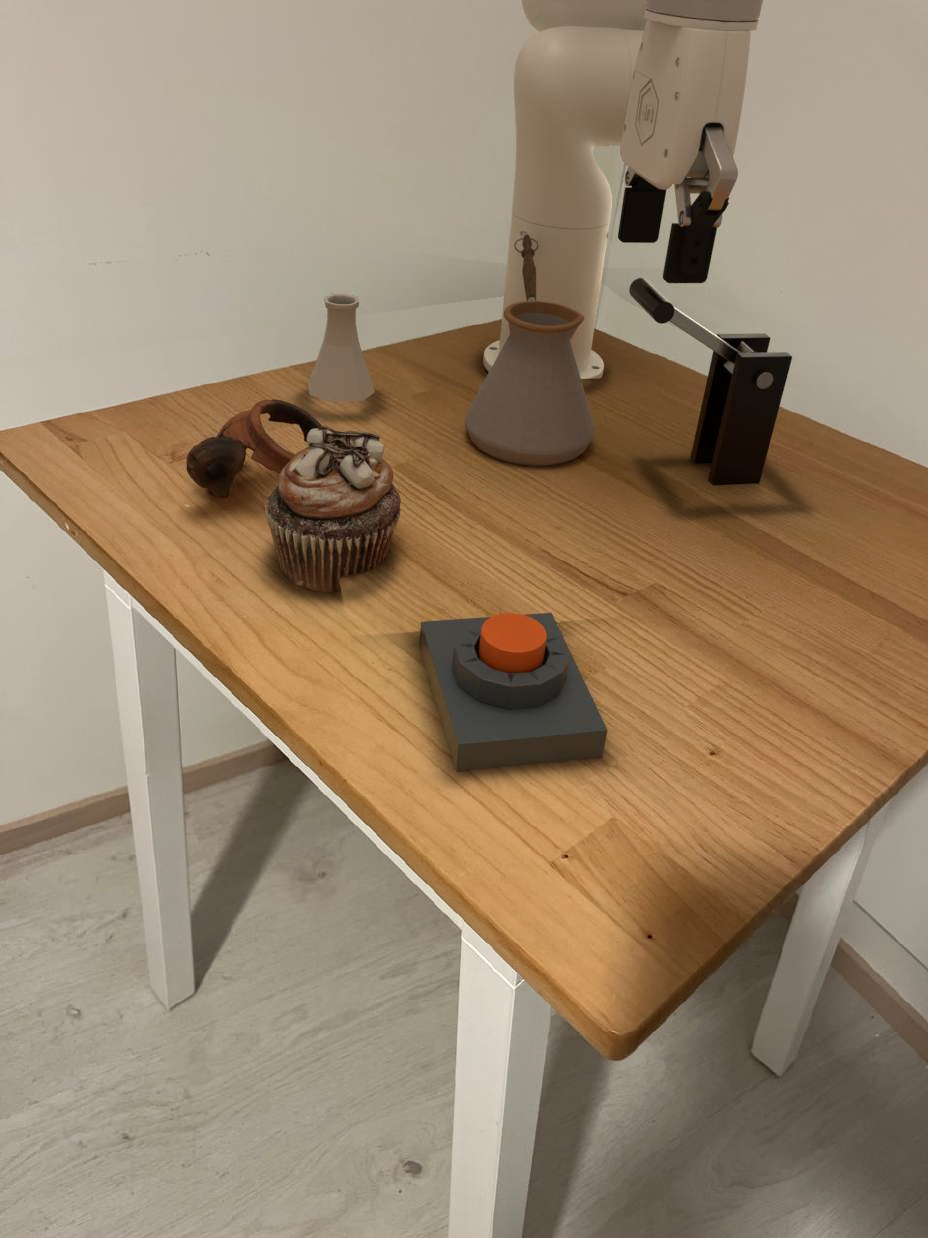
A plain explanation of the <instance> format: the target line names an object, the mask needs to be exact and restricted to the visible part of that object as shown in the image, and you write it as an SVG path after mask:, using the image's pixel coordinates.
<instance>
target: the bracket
mask: <svg viewBox="0 0 928 1238" xmlns="http://www.w3.org/2000/svg"><path fill="white" fill-rule="evenodd" d="M716 336H718V337H719V338H721V339H722V340H724V341H725V342H727V343H728V344H730V345H731V346H733V347H734V348H737V346H738V345H739V344H740V343H741V341H742V342H744V343H746V344H747V345H748V346H750V347H751V348H753V349H754V350H756V351H757V352H759V353H737V356H736V360H735V364H734V369H733V373H732V374H731V373H730V372H729V371H728V370H727V369H726V368H725V367H724V366H723V364H724V363H725V362H726V361H727V359H725V358H724V357H722V356H721V355H719V354H718V353H716V352H715V351H713V350H712V355H711V359H710V365H709V369H708V373H707V379H706V383H705V387H704V392H703V397H702V401H701V406H700V410H699V415H698V421H697V425H696V430H695V434H694V439H693V443H692V448H691V453H690V460H691V461H692V463H693V464H711V466H710V469H709V474H708V478H707V481H708V482H709V484H710V485H711V486H732V485H756V484H760V483H761V479H762V475H763V472H764V467H765V464H766V460H767V457H768V452H769V448H770V444H771V441H772V437H773V433H774V429H775V425H776V422H777V418H778V414H779V410H780V406H781V402H782V398H783V395H784V391H785V387H786V383H787V379H788V375H789V371H790V367H791V364H792V361H793V355H791V354H790V353H789V352H787V351H785V352H784V351H776V352H774V351H773V352H768V351H769V345H770V342H771V337H770V336H769V335H768V334H767V333H765V332H763V333H762V332H761V333H760V332H759V333H716Z"/></svg>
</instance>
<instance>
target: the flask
mask: <svg viewBox="0 0 928 1238" xmlns="http://www.w3.org/2000/svg"><path fill="white" fill-rule="evenodd" d="M323 301H324V306H325V308H326V309H327V315H326V317H327V318H326V319H327V321H326V325H325V330H324V336H323V340H322V343H321V346H320V349H319V351H318V355H317V357H316V360H315V364H314V366H313V369H312V372H311V374H310V377H309V380H308V383H307V389H308V394H309V396H311V397H314V398H317V399H321V400H325V401H329V402H331V403H360V402H363V401H365V400H366V399H367V398H369V397H370V396H372V395H373V394H375V393H376V391H375V388H374V385H373V380H372V378H371V376H370V372H369V369H368V367H367V364H366V361H365V357H364V354H363V351H362V348H361V345H360V341H359V334H358V328H357V309H359V306H360V300H359V296H358V295H353V294H350V293H349V294H348V293H330V294H328V295H326V296H324V297H323Z"/></svg>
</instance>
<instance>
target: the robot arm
mask: <svg viewBox="0 0 928 1238" xmlns="http://www.w3.org/2000/svg"><path fill="white" fill-rule="evenodd" d="M520 1H521V5H522V9H523V13H524V16H525V18H526V19H527V21H528V23H529V24H530V25H531V26H532V27H533V28H534V29H535V30H536V31H538V32H536V33H534V34H533V35H531V36H530V37H529V38H528V39H527V40H525V42H524V44H523V45H522V46H521V48H520V50H519V52H518V54H517V57H516V61H515V63H514V73H513V98H514V100H513V101H514V120H515V166H514V168H515V170H514V182H513V194H512V203H511V204H512V205H511V206H512V207H511V216H510V217H511V218H510V230H509V237H508V238H509V239H508V249H507V250H508V251H507V259H506V272H505V281H504V283H505V284H504V293H503V305H502V313H501V314H502V315H501V325H500V335H499V340H496V341H494V342H492V343H490V344H489V345H488V346H486V348H485V349H484V350H483V359H482V362H483V366H484V368H485V370H486V371H487V372H488V373H489V371H490V369H491V368H492V366H493V364H494V362H495V360H496V359H497V357H498V355H499V353H500V351H501V349H502V348H503V346H504V344H505V342H506V340H507V339H508V337H509V335H510V331H509V323H508V321H507V320H506V319H505V317H504V310H505V308H506V307H507V306H509V305H511V304H513V303H517V302H524V301H527V300H526V293H525V286H524V280H523V273H522V269H523V262H524V258H523V257H522V256H521V253H519V252H518V251H516V250H515V247H514V244H515V242H516V240H518V239H520V238H524V236H525V235H529V236H530V238H533V239H535V240H536V241H537V242H538V248H537V250H536V251H535V252H534V253H535V254H534V257H533V261H534V264H535V267H536V301H543V302H551V303H556V304H560V305H563V306H567V307H569V308H571V309H573V310H575V311H577V312H579V313H580V314H581V315H583V316H584V320H583V322H582V323H581V324H580V325H579V326H578V328H577V330H576V331H575V333H574V334H573V336H572V338H571V339H570V343H571V346H572V350H573V353H574V357H575V360H576V364H577V367H578V371H579V374H580V378H581V380H590V379H591V380H593V379H602V377H603V375H604V369H605V363H604V360H603V358H602V357H601V356H600V355H599V354H598V353H597V352H596V351H594V350H593V349H592V347H593V340H594V335H595V334H594V333H595V327H596V322H597V321H596V320H597V313H598V307H599V299H600V292H601V286H602V278H603V272H604V266H605V258H606V252H607V245H608V239H609V231H610V223H611V217H612V209H613V193H612V189H611V186H610V183H609V181H608V179H607V176H606V175H605V173H604V172H603V170H602V168H601V167H600V165H599V164H598V163H597V160H596V159H595V156H594V149H595V148H598V147H609V146H613V147H614V146H615V147H617V146H619V156H620V158H621V161H622V162H623V163H624V165H625V166H626V167H627V169H626V170H625V173H624V185H625V186H626V187H625V186H624V191H623V192H624V193H623V197H622V205H621V212H620V217H619V218H620V219H619V226H618V232H617V239H618V240H619V241H620V242H621V243H625V244H626V243H627V244H630V243H631V244H653V243H656V242H657V241H658V240H659V236H660V232H661V231H660V230H661V225H662V219H663V213H664V207H665V202H666V200H665V199H666V195H667V190H669V189H670V188H671V187H672V185H674V195H675V204H676V205H675V207H676V213H677V216H676V217H677V222H671V225H670V226H671V227H670V231H669V238H668V244H667V248H666V255H665V261H664V266H663V272H662V279H663V281H664V282H666V284H704V283H705V282H706V281H707V279H708V276H709V272H710V266H711V261H712V256H713V251H714V246H715V240H716V236H717V230H718V228H720V227H721V225H722V221H723V214H724V213H725V211H726V210H727V207H729V204H730V202H729V200H730V195H731V193H732V190H733V189H734V186H735V184H736V182H737V180H738V176H739V171H738V167H737V164H736V161H735V159H734V156H735V152H736V151H735V150H736V146H737V141H738V136H739V130H740V124H741V117H742V112H743V105H744V99H745V98H744V97H745V92H746V91H745V90H746V84H747V75H748V66H749V56H750V44H751V34H752V31H756V30H758V28H759V21H760V18H761V12H762V8H763V4H764V3H763V2H764V0H520ZM691 194H695V195H697V197H696V198H695V199H694V201H693V202H692V200H691ZM531 242H532V246H531V248H532V249H533V250H535V249H536V247H537V243H536V242H535V241H533V240H531ZM522 243H523V240H520V241H518V242H517V243H516V245H515V246H516V248H517V249H518V250H519V251H522V250H523V249H524V247H523V245H522Z"/></svg>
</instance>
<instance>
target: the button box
mask: <svg viewBox="0 0 928 1238" xmlns="http://www.w3.org/2000/svg"><path fill="white" fill-rule="evenodd" d="M524 615H525V616H528V617H531V618H533V619H535V620H536V621H538V622H539V623H540V624H541V625H542V626H543V627H544V628H545V630H546V633H547V639H546V646H545V653H544V659H543V662H542V664H541V665H540V666H539V667H538V668H537V669H536V670H534V671H532V672H526V673H514V674H510V673H506V672H502V671H498V670H494V669H492V668H490V667H489V666H487V665H486V664H485V663H483V661H482V660H481V658H480V655H479V645H480V635H481V627H482V625H483V624H484V622H485V621H486V620H487V619H489V618H491V617H492V616H484V617H483V616H482V617H470V618H469V617H468V618H456V619H454V618H453V619H440V620H428V621H427V620H425V621H421V622H420V627H419V628H420V631H419V647H418V648H419V651H420V655H421V659H422V662H423V665H424V669H425V672H426V676H427V678H428V682H429V686H430V690H431V693H432V695H433V699H434V703H435V706H436V709H437V712H438V716H439V719H440V723H441V725H442V726H441V727H442V729H443V732H444V736H445V739H446V743H447V746H448V750H449V753H450V756H451V760H452V763H453V766H454V767H453V768H454V770H455V772H466V771H476V770H486V769H496V768H497V769H498V768H506V767H507V768H508V767H516V766H528V765H535V764H536V765H537V764H546V763H547V764H548V763H556V762H557V763H559V762H567V761H577V760H586V759H595V758H596V759H597V758H603V756H604V750H605V746H606V740H607V736H608V728H607V725H606V724H605V722H604V720H603V718H602V715H601V713H600V711H599V709H598V707H597V705H596V703H595V701H594V698H593V696H592V694H591V692H590V690H589V688H588V686H587V684H586V682H585V680H584V677H583V675H582V673H581V671H580V669H579V667H578V666H577V663H576V660H575V658H574V657H573V654H572V652H571V651H570V648H569V646H568V644H567V642H566V640H565V638H564V636H563V634H562V632H561V628H560V627H559V625H558V623H557V621H556V619H555V616H554V614H553V613H552V612H544V613H527V614H524Z"/></svg>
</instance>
